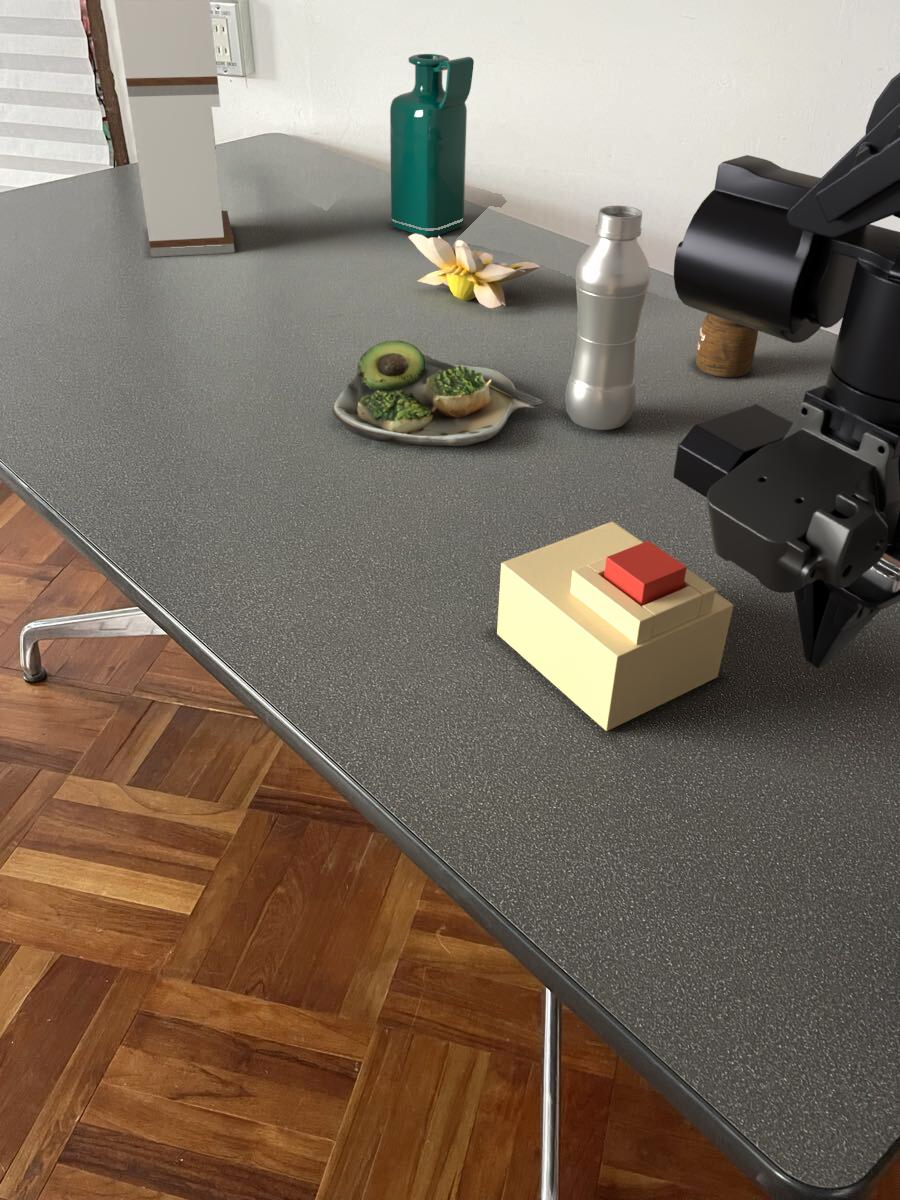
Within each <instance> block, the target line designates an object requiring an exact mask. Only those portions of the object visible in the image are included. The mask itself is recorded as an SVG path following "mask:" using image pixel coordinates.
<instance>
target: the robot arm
mask: <svg viewBox="0 0 900 1200" xmlns="http://www.w3.org/2000/svg"><path fill="white" fill-rule="evenodd" d="M892 216H893V217H896V218H898V219H900V72H898V73H897V74H896V75H895V76H894V77H892V78H891V79H890V81H888V83H887V85H886V86H885V87H884V89H883V90H882V92H881V93H880V95H879V96H878V97H877V98H876V100H875V102H874V105H873V107H872V110H871V113H870V116H869V118H868V120H867V123H866V125H865V134H864V136H862V137H861V138H860V139H859V141H857V142H856V143H855V144H854V145H853V146H852V147H851V148H850V150H848V151H847V152H846V153H845V154H844V155H843V156H842V157H841V158H840V159H839V160H838V161H837V162H836V163H835V164H834V165H833V166H832V167H831V168H830V169H829V170H828V171H827V172H826V173H825V174H823V176H822V177H819V176H815V175H810V174H807V173H802V172H798V171H794V170H790V169H786V168H784V167H781V166H780V165H778V164H776V163H774V162H773V161H771V160H768V159H765V158H762V157H757V156H753V155H749V154H745V155H743V156H739V157H735V158H732V159H728V160H725V161H722V162H721V163H720V164H718V165H717V170H716V177H715V183H714V189H713V190H712V191H710V193H708V195H707V196H706V197H705V198H704V200H703V201H702V202H701V203H700V204H699V206H698V208H697V209H696V211H695V213H693V216H692V218H691V220H690V222H689V225H688V227H687V228H686V231H685V233H684V237H683V240H681V241H680V242H679V243H678V245H677V246H676V251H675V256H674V261H673V262H674V263H673V281H674V288H675V289H674V290H675V291H676V294H677V297H678V299H679V300H680V301H681V303H682V304H683V305H685V306H687V307H690V308H692V309H695V310H698V311H701V312H704V313H706V314H707V313H709V314H712V315H715V316H718V317H720V318H723V319H726V320H729V321H732V322H735V323H738V324H740V325H743V326H746V327H749V328H752V329H755V330H758V332H761V333H763V334H766V335H769V336H772V337H775V338H777V339H780V340H784V341H787V342H789V343H792V344H797V343H798V344H799V343H803V342H805V341H807V340H809V339H810V338H811V337H812V336H814V335H815V334H816V333H817V332H818V331H819V330H820V329H821V328H824V329H828V328H832V327H834V326H835V325H836V324H838V323H839V322H840V321H841V323H840V326H839V327H840V328H839V332H838V336H837V340H836V344H835V347H834V351H833V355H832V359H831V364H830V368H829V371H828V376H827V379H826V384H824V385H821V386H818V387H815V388H811V389H809V390H806V391H805V392H804V397H803V401H802V402H800V404H799V405H798V406H797V409H796V413H795V417H794V421H793V422H792V421H790V420H788V419H787V418H785V417H782V416H781V415H779V414H777V413H775V412H773V411H771V410H769V409H767V408H765V407H763V406H762V405H759V404H758V403H756V404H752V405H749V406H747V407H746V406H745V407H743V408H740V409H737V410H734V411H731V412H728V413H726V414H722V415H719V416H716V417H713V418H710V419H707V420H703V421H701V422H698V423H694V424H693V425H692V426H690V427H689V428H688V429H687V430H686V431H685V432H684V434H683V435H682V437H681V438H680V440H679V441H678V442H677V450H676V455H675V460H674V466H673V478H674V479H675V480H677V481H679V482H680V483H682V484H684V485H685V486H687V487H688V488H690V489H691V490H693V491H695V492H696V493H698V494H699V495H701V496H703V497H705V498H706V502H707V508H708V517H709V524H710V533H711V540H712V548H713V551H714V552H715V554H716V555H717V556H719V557H720V558H721V559H723V560H724V561H726V562H731V563H733V564H735V565H736V566H738V567H739V568H741V569H742V570H744V571H745V572H746V573H748V574H750V575H751V576H753V577H754V578H756V579H757V580H758V582H759V583H760V584H761V585H762V586H764V587H765V588H766V589H768V590H770V591H773V592H776V593H781V594H787V593H788V594H789V593H793V594H794V599H795V605H796V613H797V618H798V625H799V632H800V637H801V644H802V650H803V656H804V660H805V661H806V662H807V663H809V664H811V665H812V666H813V667H815V668H816V669H820V668H823V667H824V666H826V665H828V664H830V663H831V662H832V661H833V660H834V659H835V658H836V657H837V656H838V655H839V654H840V653H841V652H842V651H843V650H844V649H845V648H846V647H847V646H848V645H849V644H850V643H851V641H852V640H853V639H854V638H855V637H857V635H858V634H859V633H860V632H861V631H862V630H863V629H864V628H865V627H866V626H867V625H868V624H869V623H870V622H871V621H872V620H873V618H875V617H876V616H877V615H878V614H879V613H880V612H881V611H882V610H885V609H887V608H890V607H891V606H893V605H895V604H897V603H899V602H900V231H897V230H893V229H889V228H886V227H883V226H878V225H876V224H875V225H874V223H876V222H879V221H881V220H884V219H886V218H889V217H892Z"/></svg>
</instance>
